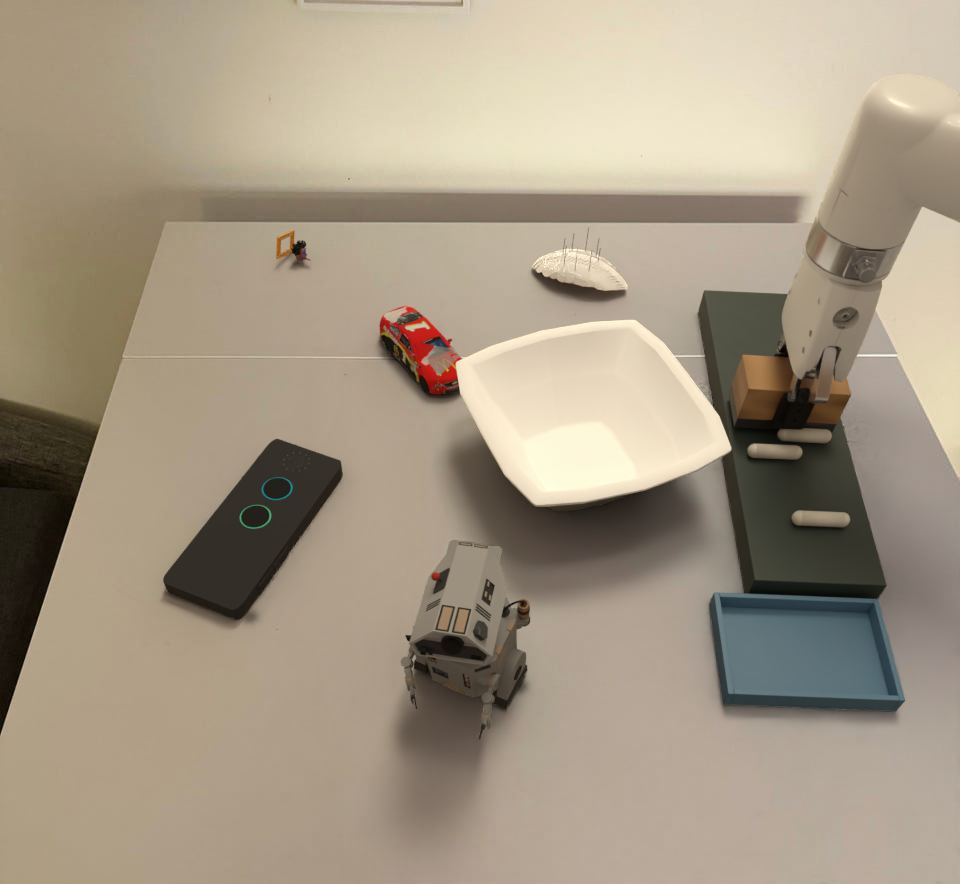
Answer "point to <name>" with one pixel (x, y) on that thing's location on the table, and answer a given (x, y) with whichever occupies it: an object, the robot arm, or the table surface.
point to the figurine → (469, 629)
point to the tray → (804, 652)
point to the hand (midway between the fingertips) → (782, 405)
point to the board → (784, 474)
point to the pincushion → (580, 269)
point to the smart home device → (254, 529)
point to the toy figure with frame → (292, 247)
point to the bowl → (589, 413)
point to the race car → (420, 349)
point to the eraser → (778, 394)
